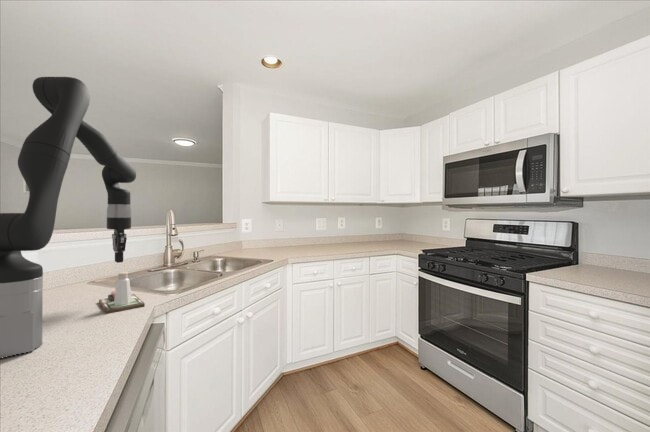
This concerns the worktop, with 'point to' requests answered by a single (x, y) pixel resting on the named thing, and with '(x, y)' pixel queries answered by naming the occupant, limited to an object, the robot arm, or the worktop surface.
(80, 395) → the worktop surface
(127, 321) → the worktop surface
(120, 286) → the pepper shaker
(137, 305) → the metal control panel
